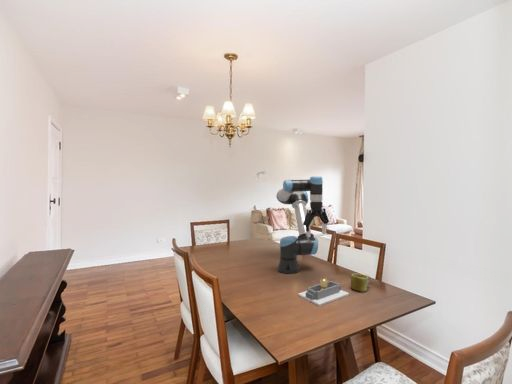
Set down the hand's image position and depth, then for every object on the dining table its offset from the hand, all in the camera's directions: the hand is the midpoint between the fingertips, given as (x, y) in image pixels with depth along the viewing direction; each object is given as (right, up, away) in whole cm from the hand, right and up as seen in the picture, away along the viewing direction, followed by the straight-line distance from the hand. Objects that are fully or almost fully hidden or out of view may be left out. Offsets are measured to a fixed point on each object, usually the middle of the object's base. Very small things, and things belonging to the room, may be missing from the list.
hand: (316, 235), depth 174 cm
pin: (0, -29, -21) cm, 36 cm away
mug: (+23, -29, -13) cm, 40 cm away
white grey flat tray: (-1, -30, -21) cm, 36 cm away
